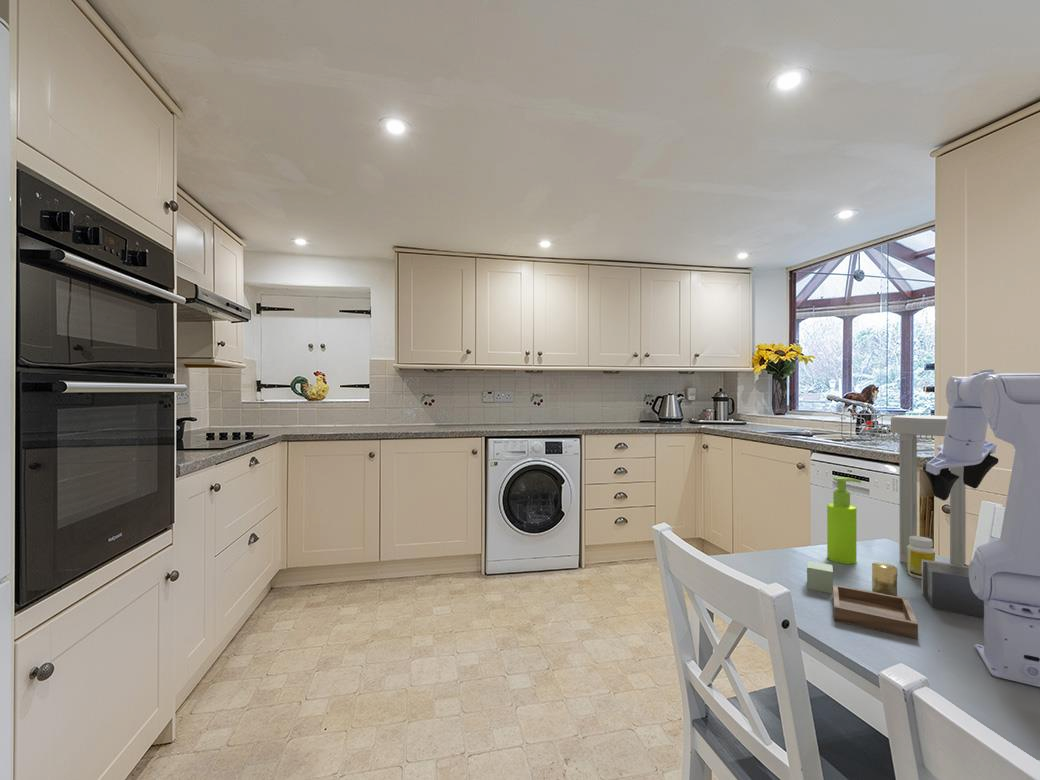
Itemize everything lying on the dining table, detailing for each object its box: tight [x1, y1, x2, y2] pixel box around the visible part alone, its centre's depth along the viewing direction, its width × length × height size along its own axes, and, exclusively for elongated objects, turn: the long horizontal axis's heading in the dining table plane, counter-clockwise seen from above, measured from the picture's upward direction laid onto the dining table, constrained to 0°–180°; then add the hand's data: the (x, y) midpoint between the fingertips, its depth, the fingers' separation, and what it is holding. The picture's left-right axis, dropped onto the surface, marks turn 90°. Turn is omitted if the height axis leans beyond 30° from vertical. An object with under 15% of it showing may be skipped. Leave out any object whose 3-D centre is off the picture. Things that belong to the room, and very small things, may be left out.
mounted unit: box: [921, 560, 984, 619], centre depth 90 cm, size 8×9×7 cm
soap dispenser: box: [826, 476, 862, 565], centre depth 115 cm, size 6×7×20 cm
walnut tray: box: [832, 584, 919, 640], centre depth 86 cm, size 12×12×2 cm
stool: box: [890, 414, 967, 566], centre depth 114 cm, size 16×16×35 cm
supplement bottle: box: [906, 535, 936, 580], centre depth 105 cm, size 5×5×8 cm
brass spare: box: [871, 562, 898, 596], centre depth 95 cm, size 4×4×6 cm
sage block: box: [806, 560, 834, 594], centre depth 99 cm, size 4×4×4 cm
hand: (955, 491), depth 96 cm, fingers open, 7 cm apart
